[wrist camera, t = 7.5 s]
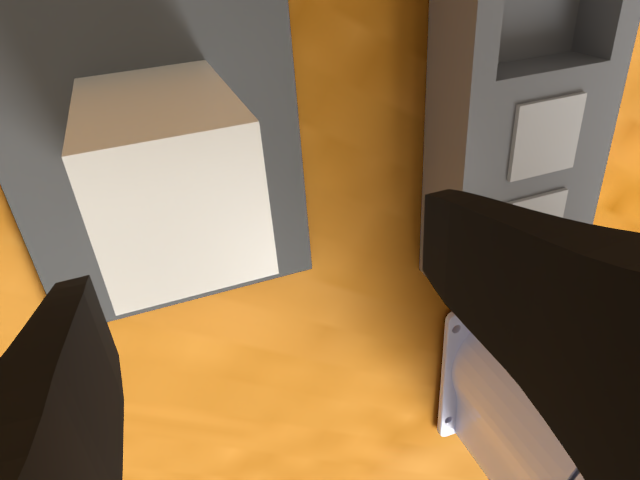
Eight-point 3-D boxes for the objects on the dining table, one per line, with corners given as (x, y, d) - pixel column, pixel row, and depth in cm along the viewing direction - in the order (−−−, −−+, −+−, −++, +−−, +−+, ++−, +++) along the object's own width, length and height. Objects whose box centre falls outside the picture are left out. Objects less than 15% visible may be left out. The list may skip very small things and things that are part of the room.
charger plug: (225, 173, 19) (278, 273, 13) (110, 196, 18) (115, 315, 12) (205, 59, 17) (259, 121, 11) (74, 78, 16) (61, 156, 10)
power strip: (539, 235, 27) (589, 269, 24) (419, 269, 25) (458, 310, 23) (618, -218, 18) (713, -247, 15) (437, -218, 16) (507, -249, 13)
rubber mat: (308, 262, 23) (312, 268, 23) (63, 325, 20) (62, 333, 20) (271, -128, 16) (276, -130, 15) (-116, -109, 13) (-123, -111, 13)
